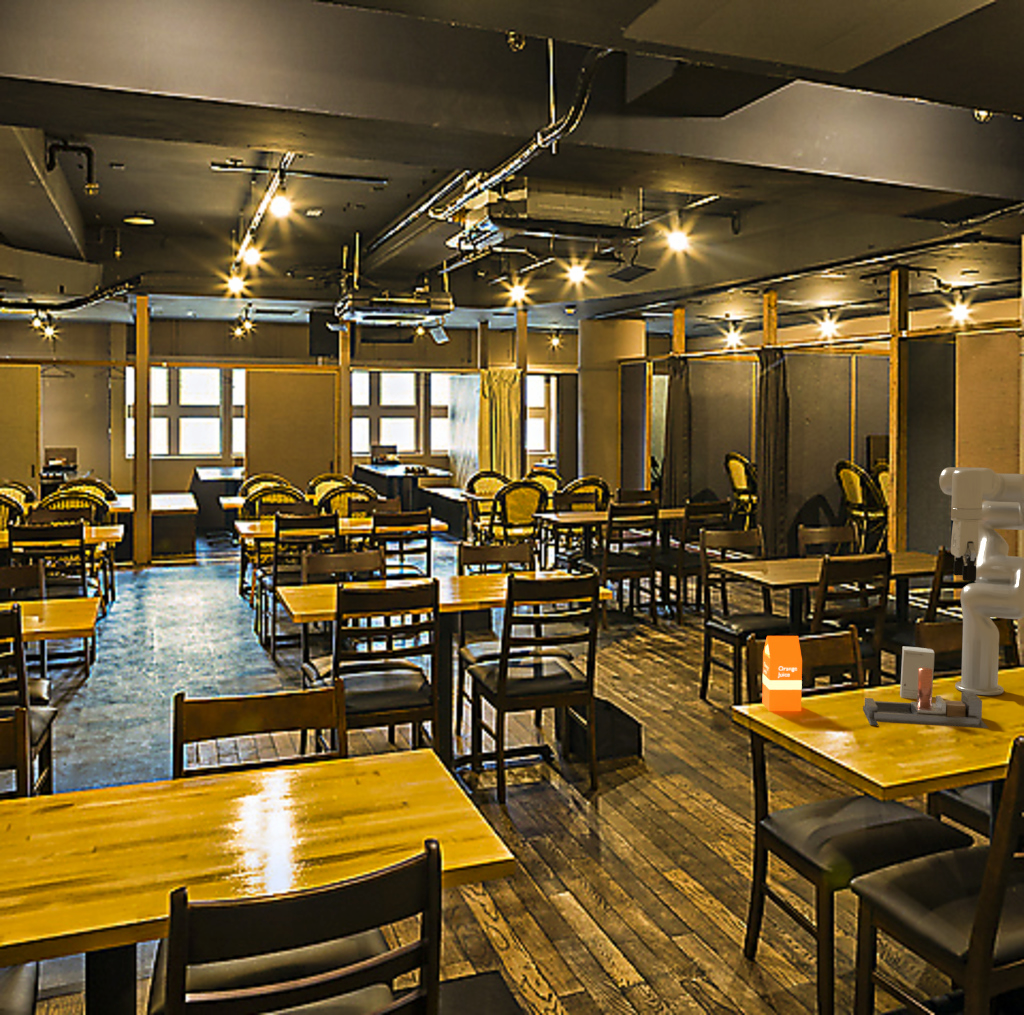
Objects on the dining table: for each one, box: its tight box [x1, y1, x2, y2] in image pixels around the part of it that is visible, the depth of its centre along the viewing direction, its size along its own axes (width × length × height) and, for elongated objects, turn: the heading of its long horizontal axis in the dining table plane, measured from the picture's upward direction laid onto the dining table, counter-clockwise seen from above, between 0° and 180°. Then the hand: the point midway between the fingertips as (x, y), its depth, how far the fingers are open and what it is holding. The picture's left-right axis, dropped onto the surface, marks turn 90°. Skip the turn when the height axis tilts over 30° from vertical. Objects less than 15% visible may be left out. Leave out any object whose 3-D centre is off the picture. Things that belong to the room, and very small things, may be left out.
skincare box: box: [899, 646, 935, 700], centre depth 261 cm, size 8×6×15 cm
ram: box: [910, 667, 946, 716], centre depth 241 cm, size 8×7×12 cm
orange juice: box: [761, 635, 803, 712], centre depth 255 cm, size 8×9×20 cm
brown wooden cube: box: [943, 699, 966, 717], centre depth 240 cm, size 4×4×4 cm
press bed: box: [862, 691, 989, 729], centre depth 242 cm, size 14×28×7 cm, turn 77°
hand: (964, 577), depth 249 cm, fingers open, 9 cm apart
